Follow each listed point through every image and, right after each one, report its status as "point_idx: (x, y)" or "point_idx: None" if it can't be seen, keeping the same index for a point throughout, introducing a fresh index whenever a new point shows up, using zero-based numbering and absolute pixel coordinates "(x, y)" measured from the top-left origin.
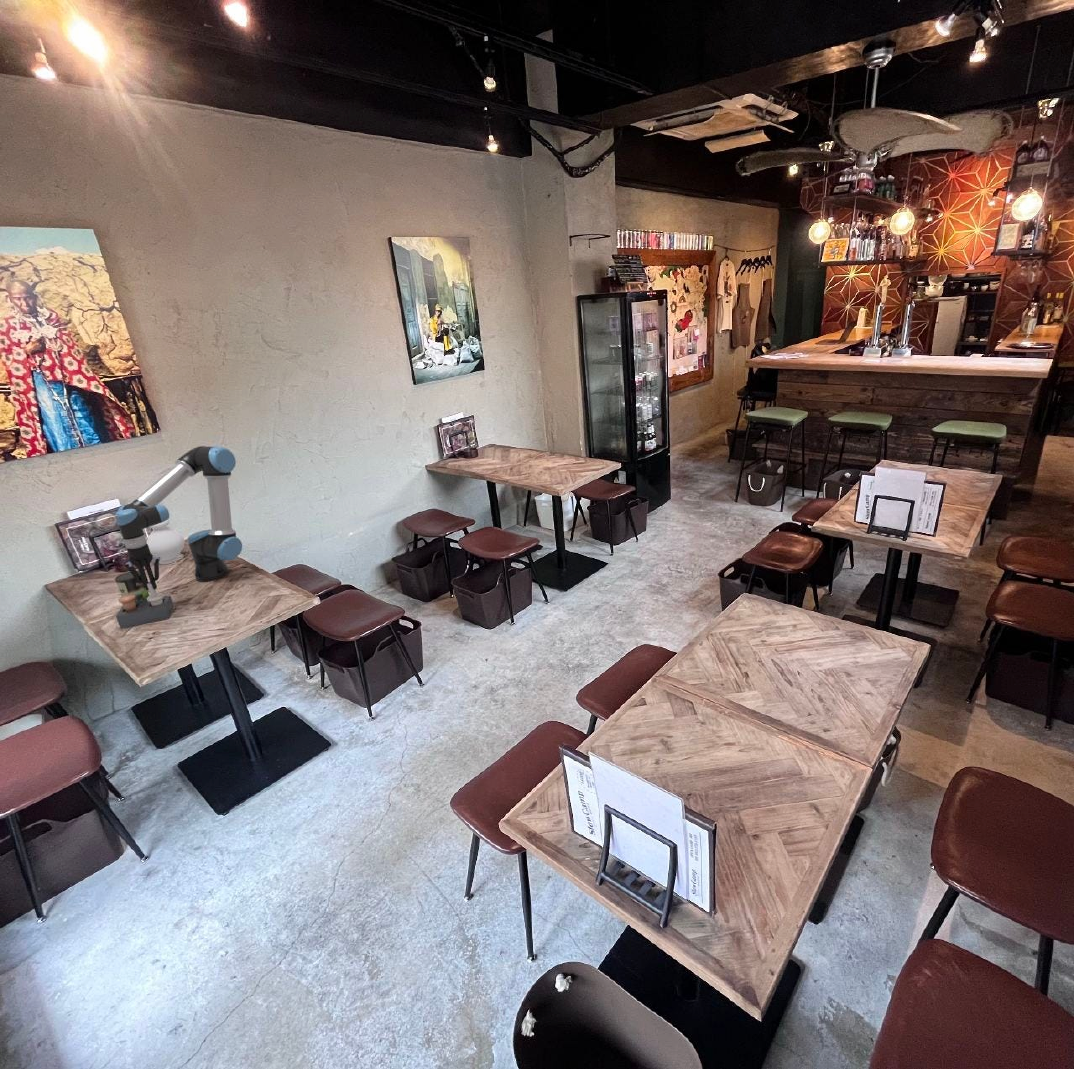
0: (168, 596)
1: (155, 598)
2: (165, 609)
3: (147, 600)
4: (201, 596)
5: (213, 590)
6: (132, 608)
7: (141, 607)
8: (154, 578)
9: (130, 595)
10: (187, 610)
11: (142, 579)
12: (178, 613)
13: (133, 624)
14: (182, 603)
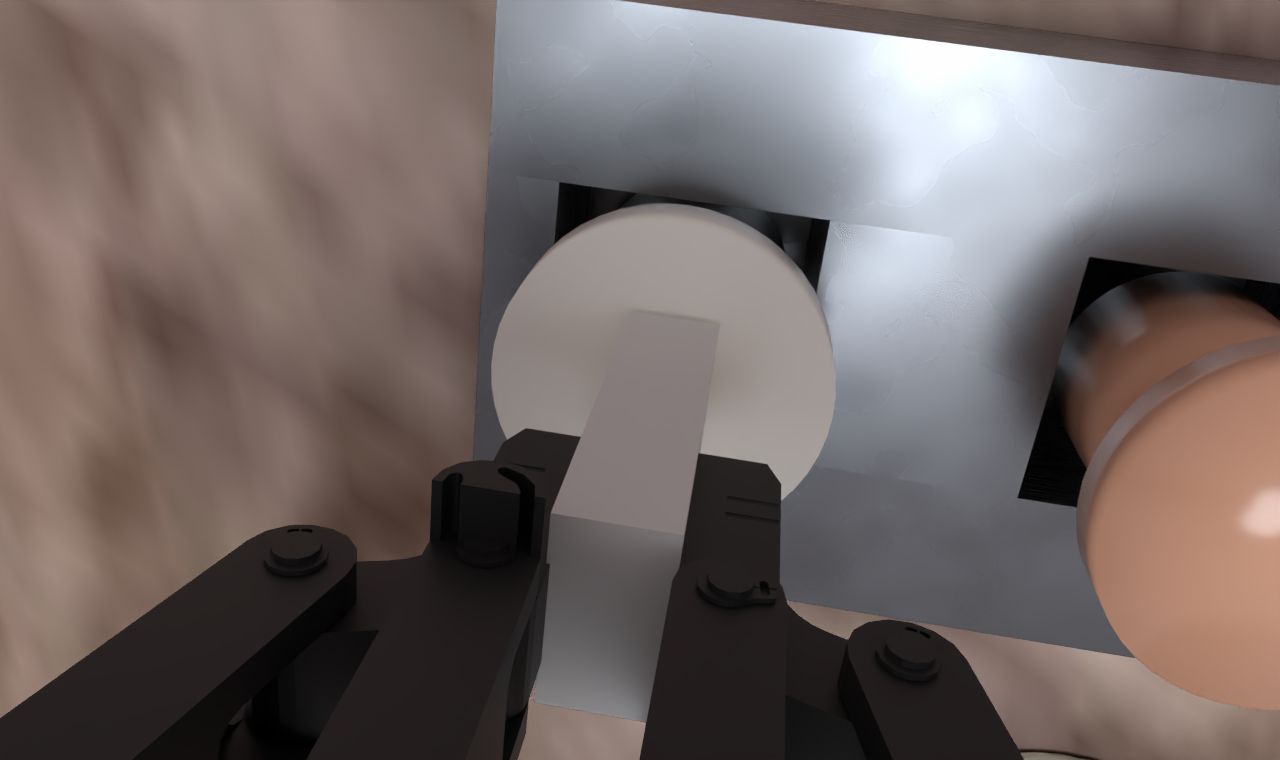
0: None
1: (631, 241)
2: None
3: (827, 329)
4: (186, 540)
5: (62, 631)
6: (1158, 311)
7: (976, 277)
8: (349, 630)
9: (1201, 603)
10: (296, 140)
11: (770, 714)
12: (426, 108)
13: (1149, 48)
14: (420, 471)
